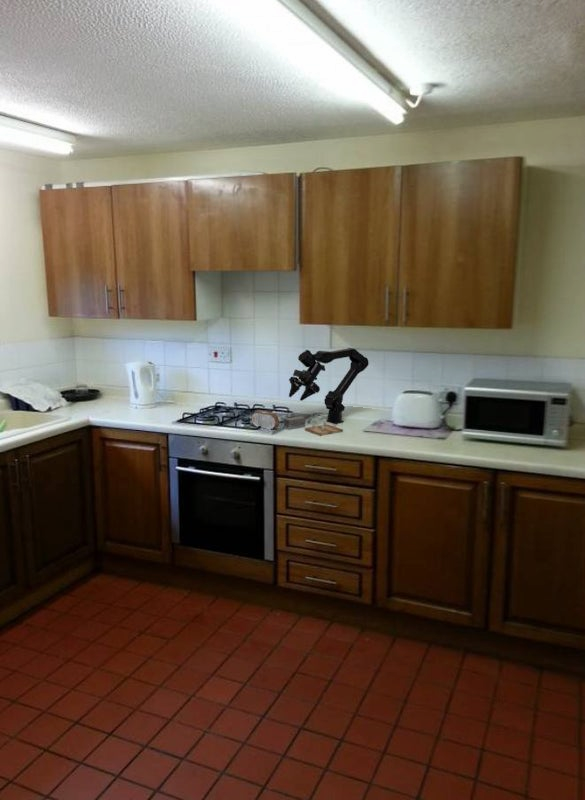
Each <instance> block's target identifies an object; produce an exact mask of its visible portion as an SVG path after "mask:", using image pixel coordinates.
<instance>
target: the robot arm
mask: <svg viewBox="0 0 585 800" xmlns="http://www.w3.org/2000/svg"><path fill="white" fill-rule="evenodd" d="M343 358H348V359H349V361H350V367H349V370H348V371H347V373H346V374H345V375H344V377H343V379H341V381H340V382H339V384H338V385H337V387H336V388H335V389H334V390H329V391H328V393H327V394H326V395H325V396H324V397H325V398H324V405H325V406H326V407H325V408H326V410H328V413H327V420H325V421H326V423H330V424H331V423H332V424H339V423H344V420H342V417H343V415H342V413H343V412H344V411H345V408H346V407H345V405H344V404H343V403H342V402H343V401H344V395H345V394H346V392H347V391H348V389H349V387H350V386H351V384H352V383H354V380H355V379H356V378H357V376H358V375H359V374H360V373H362V372H363V371H365V370H366V369H367V367H368V366H369V364H370V362H369V359H368V357H366V356H364V355H363V354H362V353H360V352H359V351H358V350H357V349H356V348H352V347H347V348H343V349H338V350H337V349H336V350H332V351H327V350H318V351H316V353H314V354H313V353H312V352H311V351H310V350H309V349H306V350H304V351H302V352H301V353H300V354H299V355H298V361H299V362H300V363H301V364H302V365H303V366H304V367H305V368H307V370H304V369H303V370H298V369H294V371H293V374H292V376H290V378H289V379H288V381H289V383H290V389H289V393H288V397H289V398H291V397H293V396H294V395H295V394H296V393H297V392H298V391H300V390H301V389H300V388H302V387H304V391H303V392H302V394H301V397H300V398H299V400H300V401H304V400H306V399H307V398H309V397H310V396H312V395H315V394H318V393H319V392H320V390H321V388H320V386H319V385H318V384H317V383H316V382H314V381H317V380H318V378H317V377H318V375H319V374H320V372H321V371H323V372H324V371H325V372H326V367H325V365H324V364H329V363H331V362H333V361H334V360H338V359H339V360H340V359H343Z"/></svg>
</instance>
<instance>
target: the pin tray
mask: <svg viewBox="0 0 585 800" xmlns="http://www.w3.org/2000/svg"><path fill="white" fill-rule="evenodd" d="M336 424H337V423H332V425H330V424H327V421H326V420H323V424H321V425H316V423H315V422H312V424H311V425H312V426H310V427H308V426H307V427H304V431H305V432H309V433H312V434H314V435H317V436H320V437H321V436H325V435H326V436H328V435H332V434H336V433H337V434H338V433H343V432H344V429H343V428H340V427H337V426H336Z"/></svg>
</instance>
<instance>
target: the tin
mask: <svg viewBox="0 0 585 800" xmlns="http://www.w3.org/2000/svg"><path fill="white" fill-rule="evenodd" d="M250 417H251V423H252V425H253V426H254V427H256V426H261V427H265V428H275V429H277V428H278V427H279V426H280V419H279V416H278V414H276V413H275V412H272V411H267V410H261V409H258V410H256V411H254V412H253V413H252V414H251V416H250ZM276 427H277V428H276Z"/></svg>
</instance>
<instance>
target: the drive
mask: <svg viewBox="0 0 585 800" xmlns="http://www.w3.org/2000/svg"><path fill="white" fill-rule="evenodd" d="M283 428H284V429H285V430H288V431H290V430H296V429H303V428H304V429H305V428H306V417H304V416H301V415H300V416H293V417H286V418H284V419H283Z"/></svg>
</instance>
